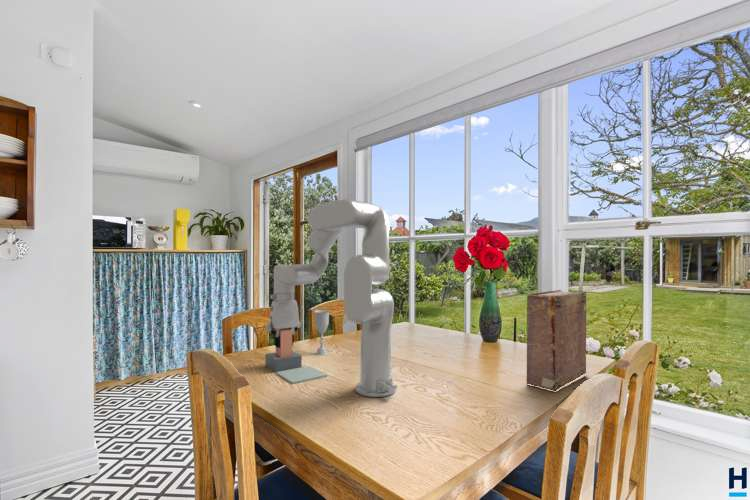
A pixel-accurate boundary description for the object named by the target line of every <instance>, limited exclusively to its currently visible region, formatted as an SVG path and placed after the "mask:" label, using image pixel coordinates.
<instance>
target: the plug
mask: <svg viewBox="0 0 750 500" xmlns="http://www.w3.org/2000/svg"><path fill="white" fill-rule="evenodd" d="M279 337H280V348H277V347H275V352H276V356H278V357H285V356H291V355H292V351H293V346H292V329H289V328H285V329H280V332H279Z"/></svg>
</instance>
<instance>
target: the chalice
mask: <svg viewBox="0 0 750 500" xmlns="http://www.w3.org/2000/svg"><path fill="white" fill-rule="evenodd" d="M313 312H314V323H315V327H316V331H318V333H319V334H320V337H319V338H320V342H319V344H320V346H319V347H318V348H317V349H316V352H315V355H317V356H325V355H326V356H327V355H328V352H327V348H326V347H324V342H325V341H324V333H326V332H327V329H328V327H329V324H330V321H329V320H330V312H331V311H330V310H328V309H316V310H314V311H313Z"/></svg>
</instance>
